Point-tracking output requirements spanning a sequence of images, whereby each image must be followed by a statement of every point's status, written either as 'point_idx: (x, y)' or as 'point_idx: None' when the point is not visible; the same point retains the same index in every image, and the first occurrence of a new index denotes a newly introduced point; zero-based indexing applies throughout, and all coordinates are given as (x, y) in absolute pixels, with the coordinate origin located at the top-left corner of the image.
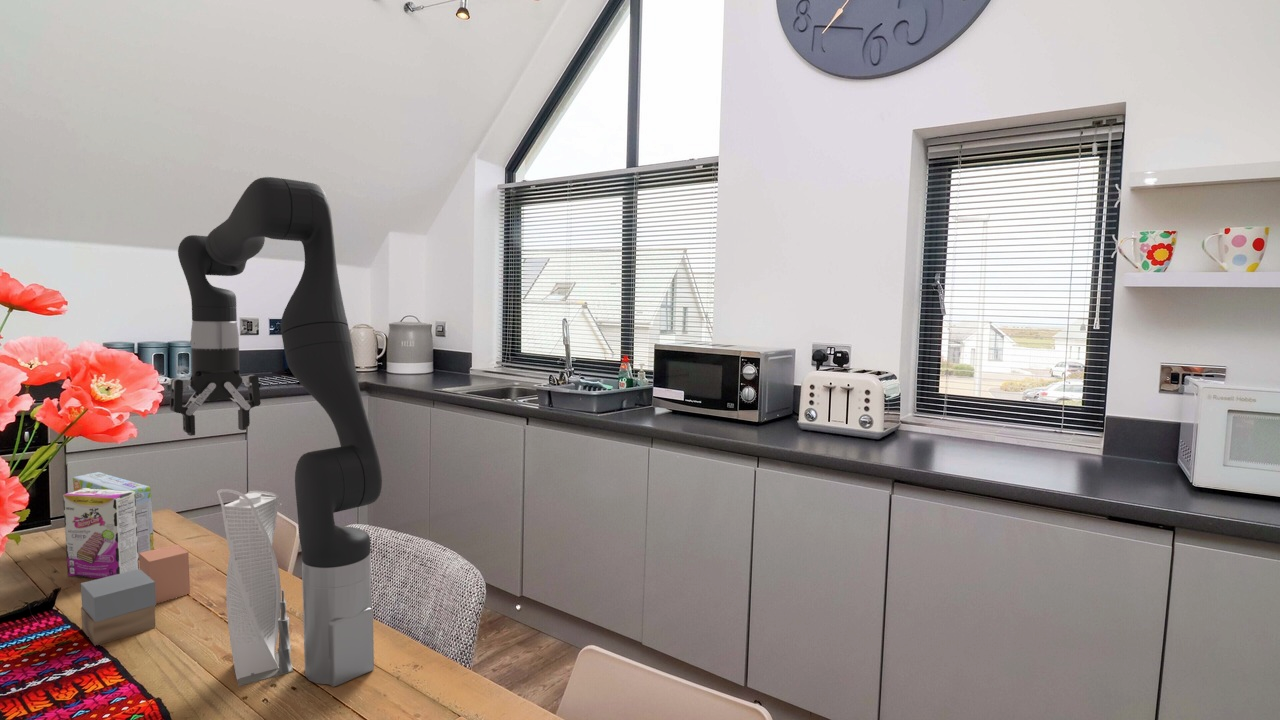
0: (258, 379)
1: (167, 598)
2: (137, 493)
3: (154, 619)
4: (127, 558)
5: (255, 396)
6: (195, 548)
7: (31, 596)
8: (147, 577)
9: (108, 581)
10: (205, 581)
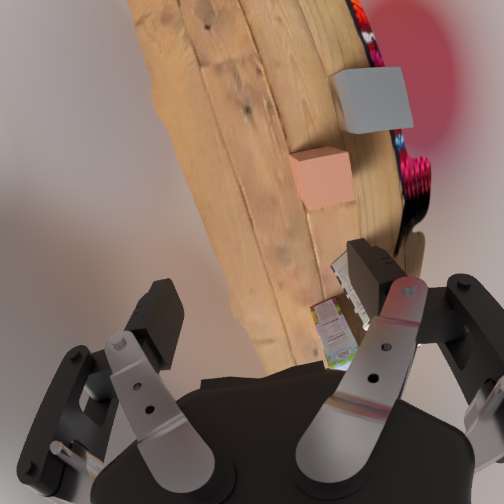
0: (20, 457)
1: (313, 149)
2: (344, 357)
3: (330, 76)
4: (347, 264)
5: (66, 383)
6: (269, 308)
7: (413, 246)
8: (351, 92)
9: (390, 110)
10: (269, 188)
